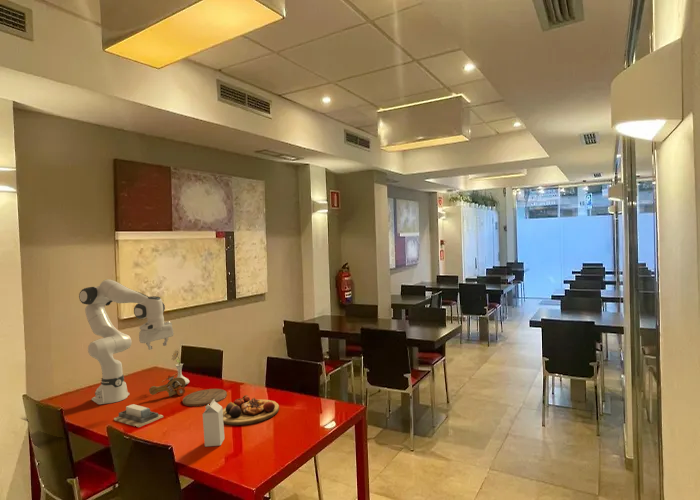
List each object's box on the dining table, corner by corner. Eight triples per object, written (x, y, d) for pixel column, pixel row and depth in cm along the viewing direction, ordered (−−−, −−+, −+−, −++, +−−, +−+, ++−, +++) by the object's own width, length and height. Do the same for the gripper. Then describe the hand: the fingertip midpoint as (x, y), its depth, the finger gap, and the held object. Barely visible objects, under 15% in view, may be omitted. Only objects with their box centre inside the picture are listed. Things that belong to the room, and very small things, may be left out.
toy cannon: (187, 394, 266) (185, 372, 266) (150, 402, 255) (149, 379, 255) (184, 390, 273) (183, 369, 273) (148, 399, 262) (147, 376, 262)
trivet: (233, 391, 268) (232, 388, 268) (216, 406, 243) (216, 403, 243) (194, 392, 270) (194, 389, 270) (174, 407, 245) (174, 404, 245)
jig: (113, 420, 232) (113, 414, 231) (138, 410, 243) (138, 405, 243) (138, 427, 219) (138, 421, 219) (163, 417, 231) (162, 411, 231)
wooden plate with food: (291, 408, 233) (290, 393, 233) (246, 430, 207) (245, 413, 207) (251, 400, 251) (250, 386, 251) (205, 420, 225) (204, 404, 225)
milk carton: (224, 438, 200) (221, 398, 200) (220, 445, 193) (217, 403, 192) (209, 439, 200) (206, 399, 199) (204, 447, 192) (201, 405, 192)
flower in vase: (172, 384, 289) (169, 347, 289) (190, 381, 293) (187, 345, 292) (170, 390, 277) (167, 351, 276) (189, 387, 280) (186, 349, 280)
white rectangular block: (126, 415, 234) (125, 406, 234) (133, 413, 237) (133, 404, 237) (143, 420, 225) (142, 411, 225) (150, 417, 229) (149, 408, 229)
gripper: (168, 320, 263) (170, 343, 263) (136, 327, 245) (138, 351, 246) (174, 320, 259) (176, 343, 260) (143, 327, 242) (145, 352, 242)
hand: (157, 347), depth 253 cm, fingers open, 8 cm apart
